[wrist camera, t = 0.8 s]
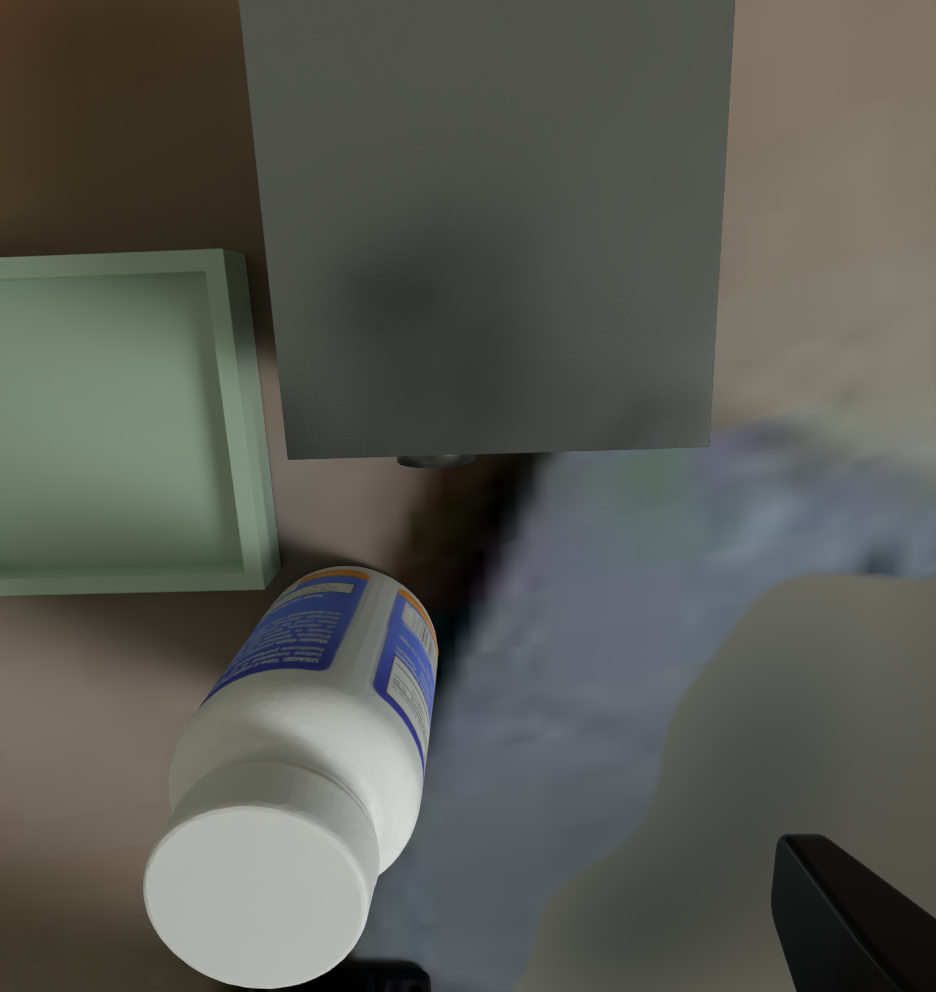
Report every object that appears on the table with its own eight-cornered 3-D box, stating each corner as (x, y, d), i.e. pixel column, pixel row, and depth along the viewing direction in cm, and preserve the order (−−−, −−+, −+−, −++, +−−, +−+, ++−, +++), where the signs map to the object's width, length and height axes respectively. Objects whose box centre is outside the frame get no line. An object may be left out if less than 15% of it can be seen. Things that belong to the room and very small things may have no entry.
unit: (617, 412, 19) (707, 482, 11) (369, 421, 19) (291, 494, 12) (624, 102, 17) (739, -71, 9) (346, 116, 17) (234, -44, 10)
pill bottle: (242, 678, 22) (55, 960, 12) (303, 531, 20) (146, 722, 11) (399, 743, 22) (335, 1062, 13) (469, 604, 21) (456, 847, 11)
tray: (281, 568, 21) (264, 589, 19) (-10, 575, 21) (-49, 597, 19) (244, 253, 18) (222, 248, 17) (-82, 267, 18) (-134, 262, 17)
